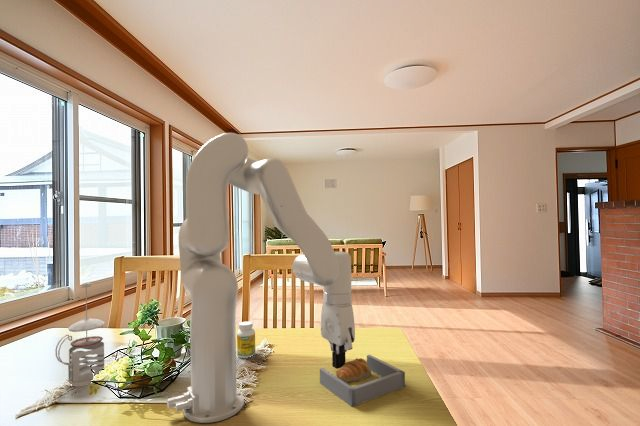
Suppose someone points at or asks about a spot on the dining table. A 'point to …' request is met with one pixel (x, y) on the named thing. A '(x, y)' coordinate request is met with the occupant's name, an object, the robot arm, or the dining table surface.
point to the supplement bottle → (245, 340)
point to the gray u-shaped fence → (367, 391)
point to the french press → (82, 373)
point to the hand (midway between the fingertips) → (339, 366)
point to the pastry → (354, 371)
